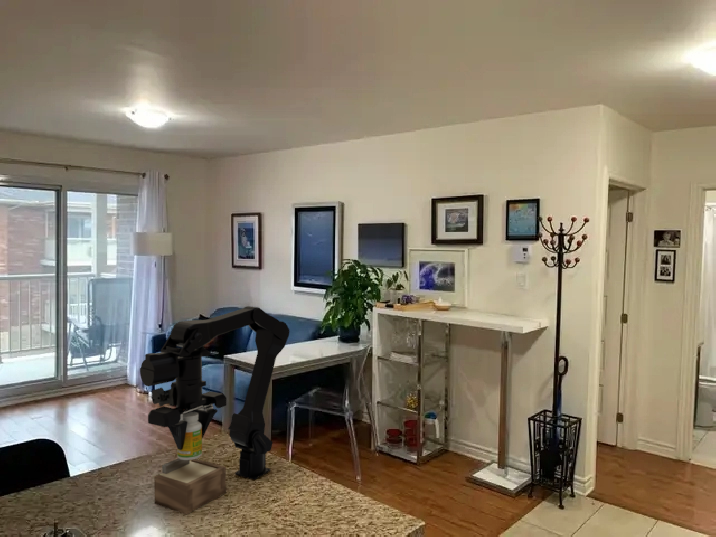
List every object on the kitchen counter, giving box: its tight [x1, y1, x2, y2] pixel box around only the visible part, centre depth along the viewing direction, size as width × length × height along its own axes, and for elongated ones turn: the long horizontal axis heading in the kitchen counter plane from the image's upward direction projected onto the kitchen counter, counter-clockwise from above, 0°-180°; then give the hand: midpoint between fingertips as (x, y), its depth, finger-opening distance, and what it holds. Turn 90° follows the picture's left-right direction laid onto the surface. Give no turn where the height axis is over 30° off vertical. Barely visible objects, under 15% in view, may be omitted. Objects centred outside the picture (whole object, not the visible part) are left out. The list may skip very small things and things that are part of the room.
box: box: [153, 458, 227, 515], centre depth 126 cm, size 12×10×6 cm
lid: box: [158, 457, 217, 483], centre depth 126 cm, size 9×9×2 cm
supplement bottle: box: [176, 412, 203, 461], centre depth 126 cm, size 5×5×10 cm
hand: (189, 445), depth 126 cm, fingers closed on supplement bottle, 5 cm apart
